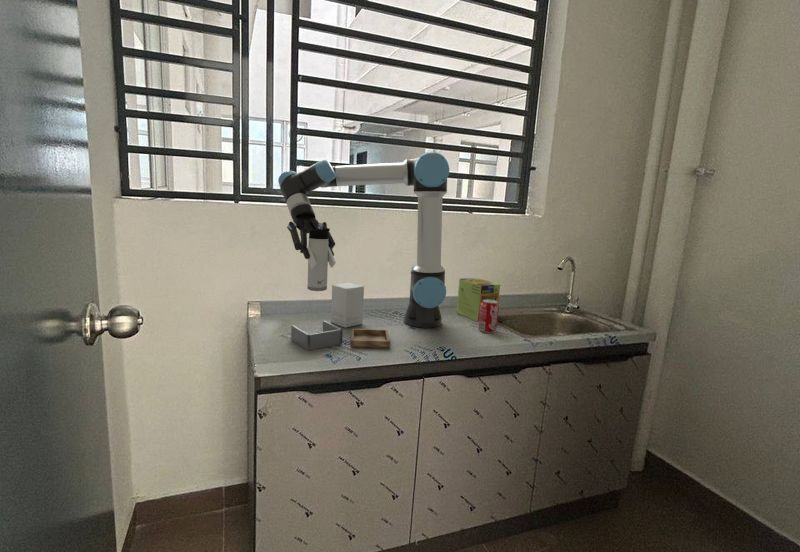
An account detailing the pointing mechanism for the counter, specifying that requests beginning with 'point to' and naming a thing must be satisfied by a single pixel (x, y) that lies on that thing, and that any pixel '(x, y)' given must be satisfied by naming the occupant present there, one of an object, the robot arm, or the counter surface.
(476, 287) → the protein box
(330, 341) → the bay
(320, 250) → the travel mug
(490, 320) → the soda can
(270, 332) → the counter surface
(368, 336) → the tray
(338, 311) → the supplement box
